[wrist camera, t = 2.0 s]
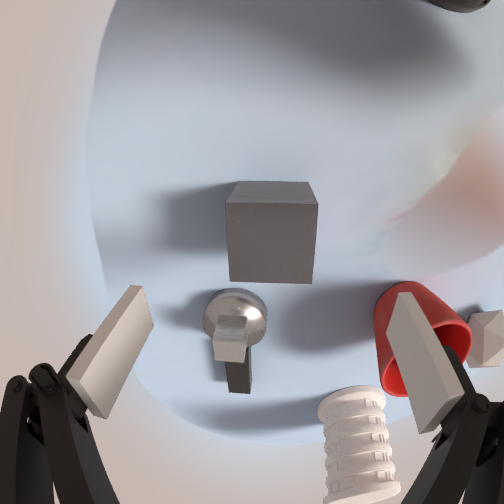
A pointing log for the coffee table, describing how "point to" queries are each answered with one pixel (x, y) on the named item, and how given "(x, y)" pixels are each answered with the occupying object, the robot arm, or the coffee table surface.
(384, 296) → the flower pot
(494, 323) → the die
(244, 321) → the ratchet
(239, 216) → the grey wood-grain cube
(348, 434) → the decorative container
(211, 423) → the coffee table surface
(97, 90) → the coffee table surface
